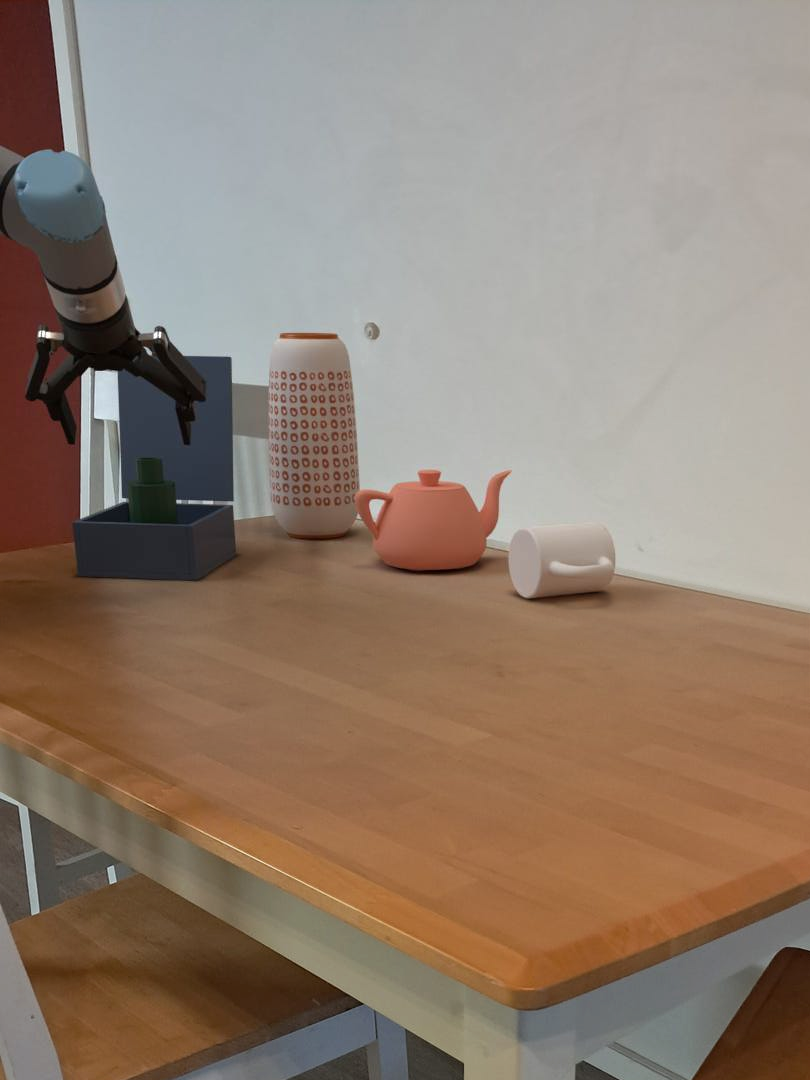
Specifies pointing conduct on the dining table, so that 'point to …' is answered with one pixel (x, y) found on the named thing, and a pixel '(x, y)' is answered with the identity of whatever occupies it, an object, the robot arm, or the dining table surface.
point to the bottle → (152, 494)
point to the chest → (155, 543)
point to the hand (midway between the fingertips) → (130, 435)
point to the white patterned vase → (312, 436)
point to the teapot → (430, 522)
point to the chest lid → (158, 434)
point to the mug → (561, 559)
